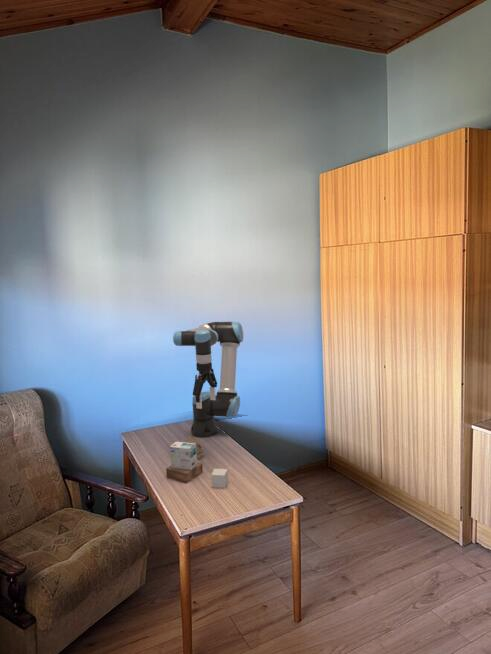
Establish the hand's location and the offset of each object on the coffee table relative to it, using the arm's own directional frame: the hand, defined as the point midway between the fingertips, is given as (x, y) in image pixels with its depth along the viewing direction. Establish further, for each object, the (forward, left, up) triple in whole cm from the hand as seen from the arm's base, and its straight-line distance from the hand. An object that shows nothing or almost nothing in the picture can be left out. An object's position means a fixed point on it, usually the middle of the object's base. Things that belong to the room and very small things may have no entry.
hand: (206, 404), depth 248 cm
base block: (+20, -2, -29) cm, 35 cm away
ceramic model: (-1, -10, -29) cm, 31 cm away
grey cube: (+22, +18, -29) cm, 40 cm away
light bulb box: (+20, -2, -24) cm, 32 cm away
